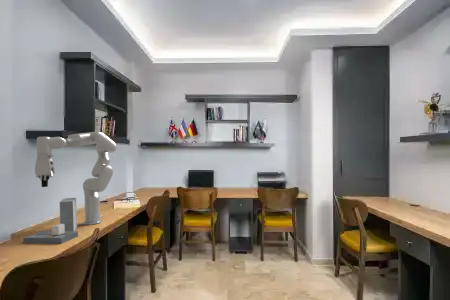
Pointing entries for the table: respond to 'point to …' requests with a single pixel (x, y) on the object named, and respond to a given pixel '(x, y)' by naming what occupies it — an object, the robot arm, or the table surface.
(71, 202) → the hard drive box
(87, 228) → the table surface
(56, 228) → the fader knob
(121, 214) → the table surface
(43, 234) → the platform
